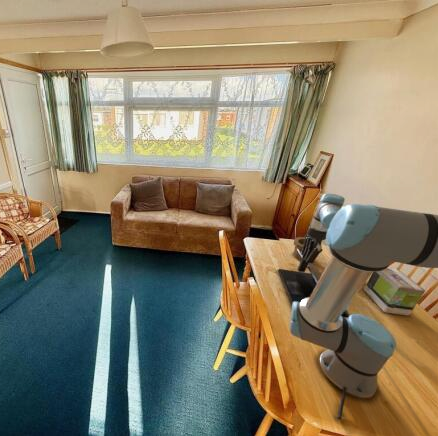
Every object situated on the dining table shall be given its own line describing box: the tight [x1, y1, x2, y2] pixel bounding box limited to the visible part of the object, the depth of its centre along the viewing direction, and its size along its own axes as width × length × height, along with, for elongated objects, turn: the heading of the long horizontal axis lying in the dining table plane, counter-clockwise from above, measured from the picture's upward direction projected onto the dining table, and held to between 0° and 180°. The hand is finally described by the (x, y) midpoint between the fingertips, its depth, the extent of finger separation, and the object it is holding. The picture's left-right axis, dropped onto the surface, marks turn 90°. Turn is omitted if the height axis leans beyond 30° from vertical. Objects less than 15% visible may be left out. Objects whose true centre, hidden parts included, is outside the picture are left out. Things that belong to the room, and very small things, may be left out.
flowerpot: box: [293, 236, 323, 261], centre depth 135 cm, size 14×14×30 cm
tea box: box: [363, 267, 426, 316], centre depth 106 cm, size 15×10×15 cm
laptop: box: [277, 268, 348, 318], centre depth 114 cm, size 21×30×2 cm
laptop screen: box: [297, 249, 351, 317], centre depth 109 cm, size 21×30×1 cm
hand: (300, 270), depth 110 cm, fingers closed
